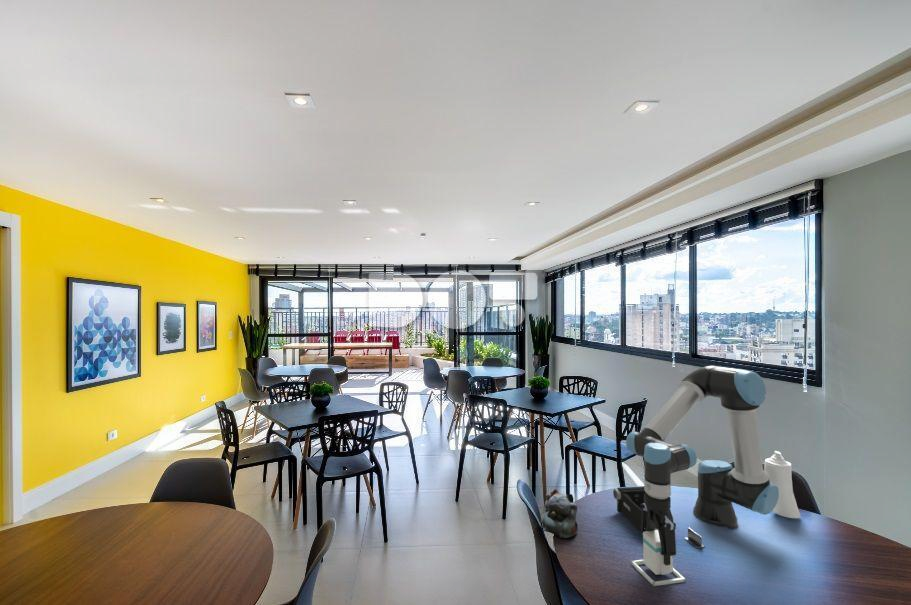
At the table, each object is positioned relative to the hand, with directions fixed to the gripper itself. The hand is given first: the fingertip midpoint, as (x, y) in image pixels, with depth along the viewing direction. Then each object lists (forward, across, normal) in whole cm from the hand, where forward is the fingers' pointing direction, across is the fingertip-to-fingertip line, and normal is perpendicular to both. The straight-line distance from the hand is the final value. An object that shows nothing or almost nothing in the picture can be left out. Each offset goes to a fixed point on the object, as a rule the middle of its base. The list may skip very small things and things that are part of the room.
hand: (657, 566), depth 129 cm
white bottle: (+3, -24, +77) cm, 80 cm away
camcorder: (+3, -29, +18) cm, 34 cm away
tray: (+3, 0, 0) cm, 3 cm away
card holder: (+3, -12, +25) cm, 28 cm away
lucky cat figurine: (+3, -30, -19) cm, 36 cm away
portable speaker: (+4, -14, +11) cm, 18 cm away
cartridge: (0, 0, 0) cm, 0 cm away
